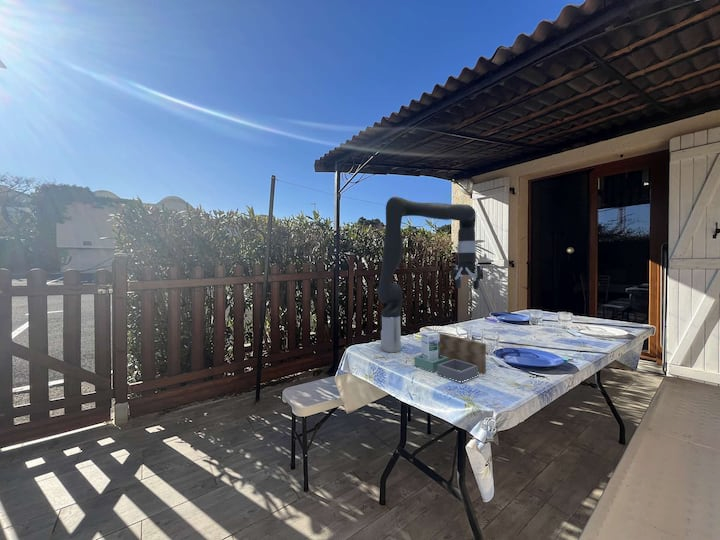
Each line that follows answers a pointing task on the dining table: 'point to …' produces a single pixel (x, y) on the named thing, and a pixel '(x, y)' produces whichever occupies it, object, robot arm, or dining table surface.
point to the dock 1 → (429, 362)
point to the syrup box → (430, 345)
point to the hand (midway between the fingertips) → (466, 288)
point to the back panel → (464, 350)
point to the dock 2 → (450, 372)
